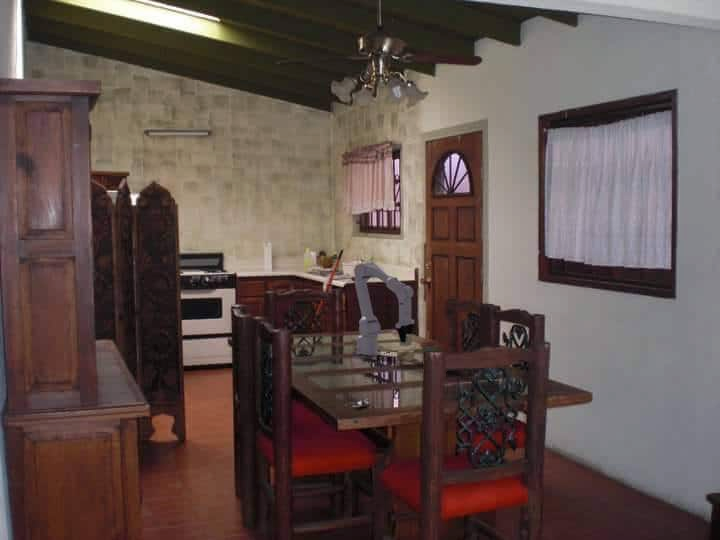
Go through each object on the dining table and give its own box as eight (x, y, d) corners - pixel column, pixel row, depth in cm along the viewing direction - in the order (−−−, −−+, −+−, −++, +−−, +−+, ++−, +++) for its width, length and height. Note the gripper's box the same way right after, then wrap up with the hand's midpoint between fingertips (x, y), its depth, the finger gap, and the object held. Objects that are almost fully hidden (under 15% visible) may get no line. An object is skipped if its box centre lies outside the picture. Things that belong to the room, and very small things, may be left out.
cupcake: (436, 356, 369) (436, 331, 368) (418, 355, 371) (418, 330, 370) (438, 352, 378) (438, 328, 377) (421, 352, 379) (421, 327, 378)
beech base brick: (396, 360, 362) (396, 351, 361) (402, 358, 367) (402, 349, 367) (408, 361, 359) (408, 352, 359) (414, 359, 364) (414, 350, 364)
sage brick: (399, 345, 362) (399, 334, 361) (403, 344, 365) (403, 333, 365) (407, 346, 360) (407, 335, 359) (411, 345, 363) (411, 334, 363)
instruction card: (375, 355, 373) (375, 354, 373) (382, 351, 382) (382, 351, 382) (399, 356, 369) (399, 356, 369) (405, 353, 377) (405, 352, 377)
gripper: (405, 314, 353) (405, 344, 354) (420, 310, 365) (420, 339, 366) (391, 313, 356) (391, 343, 358) (406, 310, 369) (407, 338, 370)
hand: (405, 341), depth 362 cm, fingers closed on sage brick, 4 cm apart
